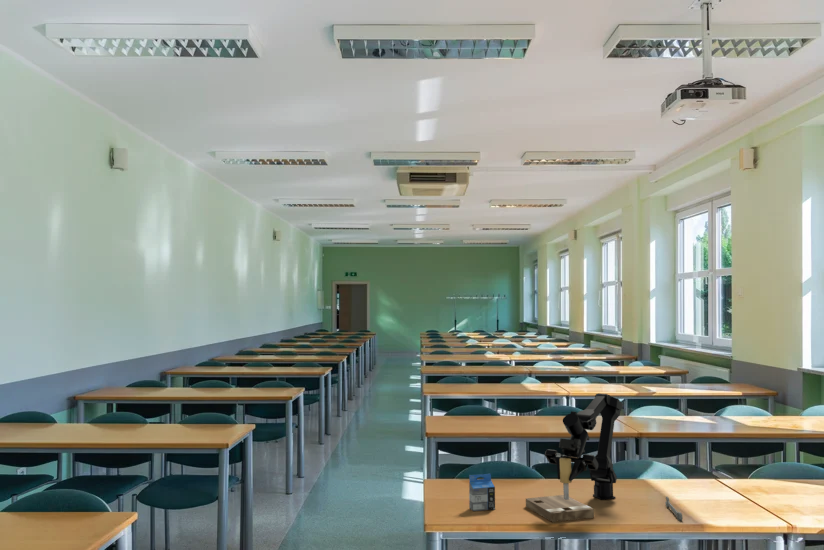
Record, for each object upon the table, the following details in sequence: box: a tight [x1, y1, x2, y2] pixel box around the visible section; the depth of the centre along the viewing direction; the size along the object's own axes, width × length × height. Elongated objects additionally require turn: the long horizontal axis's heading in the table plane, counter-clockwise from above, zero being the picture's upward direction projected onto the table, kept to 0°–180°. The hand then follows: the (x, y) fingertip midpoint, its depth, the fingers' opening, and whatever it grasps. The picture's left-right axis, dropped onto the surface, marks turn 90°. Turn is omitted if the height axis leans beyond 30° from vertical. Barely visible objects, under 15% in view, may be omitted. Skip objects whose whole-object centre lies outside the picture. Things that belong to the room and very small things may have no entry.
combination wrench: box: [665, 496, 684, 522], centre depth 244 cm, size 4×1×20 cm
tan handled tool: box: [559, 458, 573, 500], centre depth 240 cm, size 4×4×14 cm
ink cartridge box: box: [468, 473, 496, 512], centre depth 251 cm, size 9×4×12 cm, turn 105°
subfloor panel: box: [525, 494, 595, 523], centre depth 246 cm, size 16×20×3 cm
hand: (564, 479), depth 238 cm, fingers closed on tan handled tool, 4 cm apart
